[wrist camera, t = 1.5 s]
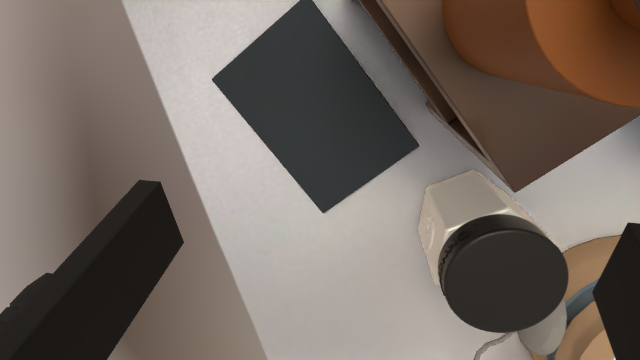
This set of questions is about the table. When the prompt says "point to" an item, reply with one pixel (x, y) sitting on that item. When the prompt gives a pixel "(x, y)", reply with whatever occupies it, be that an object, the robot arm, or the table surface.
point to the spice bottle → (553, 44)
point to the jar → (490, 255)
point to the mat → (315, 106)
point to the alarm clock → (572, 312)
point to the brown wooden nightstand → (492, 99)
